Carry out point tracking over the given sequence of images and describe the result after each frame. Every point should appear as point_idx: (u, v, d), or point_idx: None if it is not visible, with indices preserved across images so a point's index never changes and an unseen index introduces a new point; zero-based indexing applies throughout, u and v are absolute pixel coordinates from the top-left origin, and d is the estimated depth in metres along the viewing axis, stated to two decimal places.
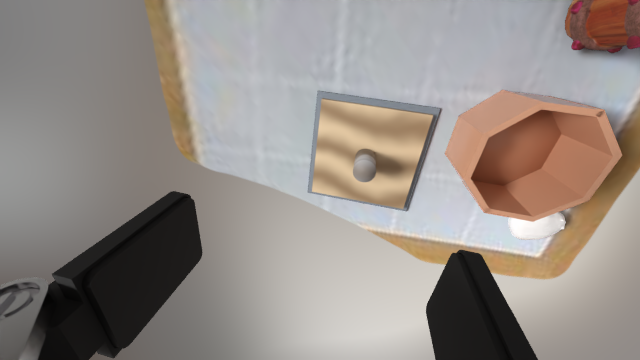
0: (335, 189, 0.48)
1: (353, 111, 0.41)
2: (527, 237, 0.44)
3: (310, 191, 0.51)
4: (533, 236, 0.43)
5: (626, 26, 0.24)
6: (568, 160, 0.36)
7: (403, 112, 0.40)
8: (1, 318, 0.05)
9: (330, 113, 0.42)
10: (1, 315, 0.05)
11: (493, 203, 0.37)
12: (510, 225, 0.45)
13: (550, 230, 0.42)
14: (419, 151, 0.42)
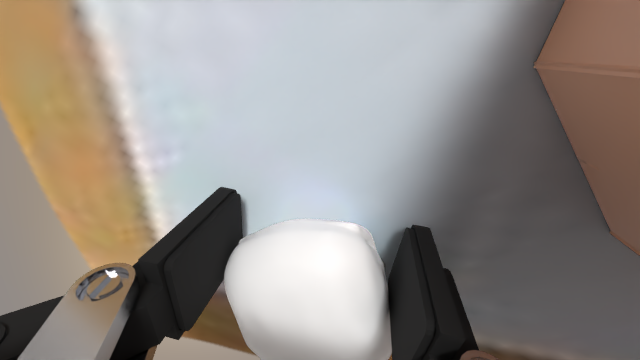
0: None
1: None
2: (241, 315, 0.08)
3: None
4: (256, 335, 0.08)
5: None
6: None
7: None
8: (96, 298, 0.05)
9: None
10: (97, 295, 0.06)
11: None
12: (287, 235, 0.08)
13: None
14: None
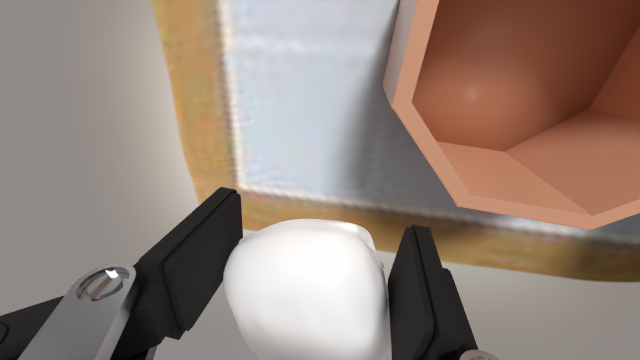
0: None
1: None
2: (240, 315, 0.08)
3: None
4: (255, 335, 0.09)
5: None
6: (488, 164, 0.17)
7: None
8: (97, 298, 0.05)
9: None
10: (98, 295, 0.06)
11: None
12: (286, 236, 0.08)
13: None
14: None
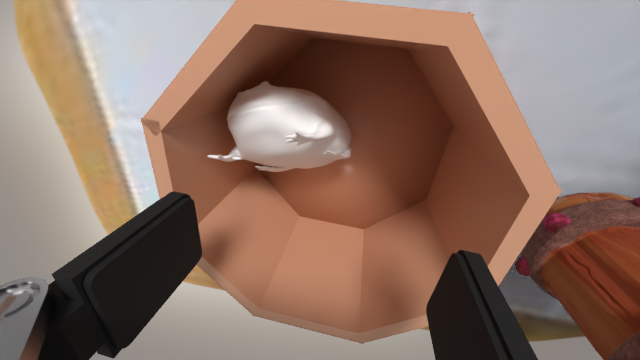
0: None
1: None
2: None
3: None
4: None
5: None
6: (325, 253, 0.19)
7: None
8: (1, 318, 0.05)
9: None
10: (1, 315, 0.05)
11: (193, 146, 0.12)
12: None
13: None
14: None
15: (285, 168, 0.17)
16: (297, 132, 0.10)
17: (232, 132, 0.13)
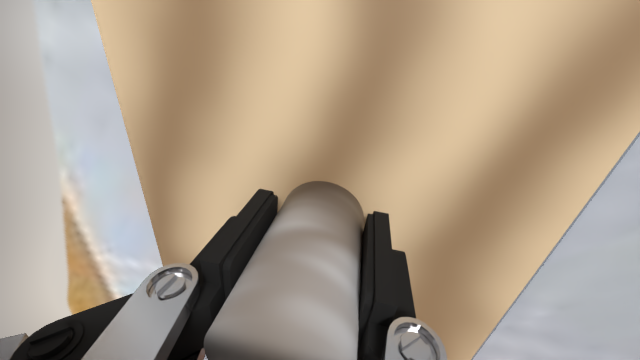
0: (149, 90, 0.10)
1: (558, 180, 0.08)
2: None
3: None
4: None
5: None
6: None
7: (489, 326, 0.12)
8: (162, 297, 0.06)
9: (600, 53, 0.07)
10: (163, 293, 0.06)
11: None
12: None
13: None
14: None
15: None
16: None
17: None
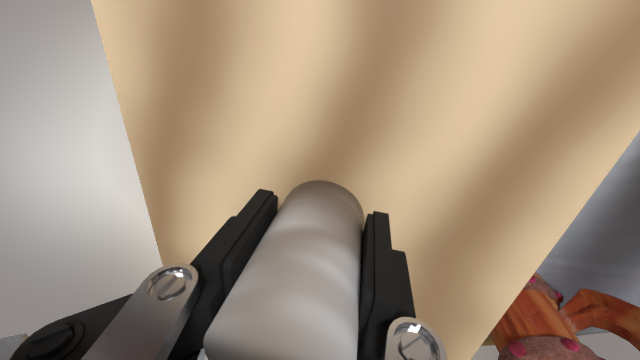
0: (149, 90, 0.10)
1: (558, 179, 0.08)
2: None
3: None
4: None
5: (534, 339, 0.23)
6: None
7: (489, 325, 0.12)
8: (162, 297, 0.06)
9: (600, 52, 0.07)
10: (163, 293, 0.06)
11: None
12: None
13: None
14: None
15: None
16: None
17: None
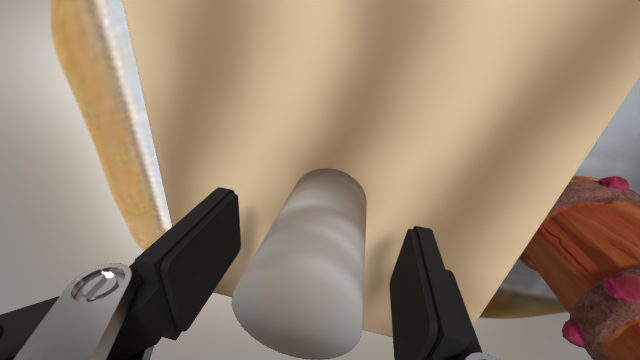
0: (172, 86, 0.11)
1: (540, 165, 0.09)
2: None
3: None
4: None
5: None
6: None
7: (482, 304, 0.13)
8: (92, 298, 0.05)
9: (573, 51, 0.08)
10: (93, 295, 0.06)
11: None
12: None
13: None
14: None
15: None
16: None
17: None
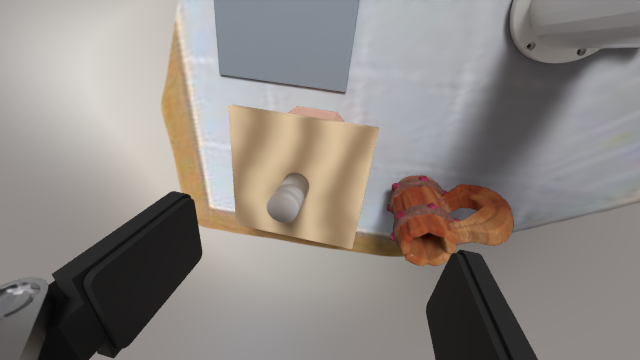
0: (242, 144, 0.32)
1: (358, 172, 0.31)
2: None
3: None
4: None
5: (411, 207, 0.32)
6: None
7: (355, 224, 0.34)
8: (1, 318, 0.05)
9: (357, 141, 0.29)
10: (1, 315, 0.05)
11: None
12: None
13: None
14: (310, 238, 0.37)
15: None
16: None
17: None
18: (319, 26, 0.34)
